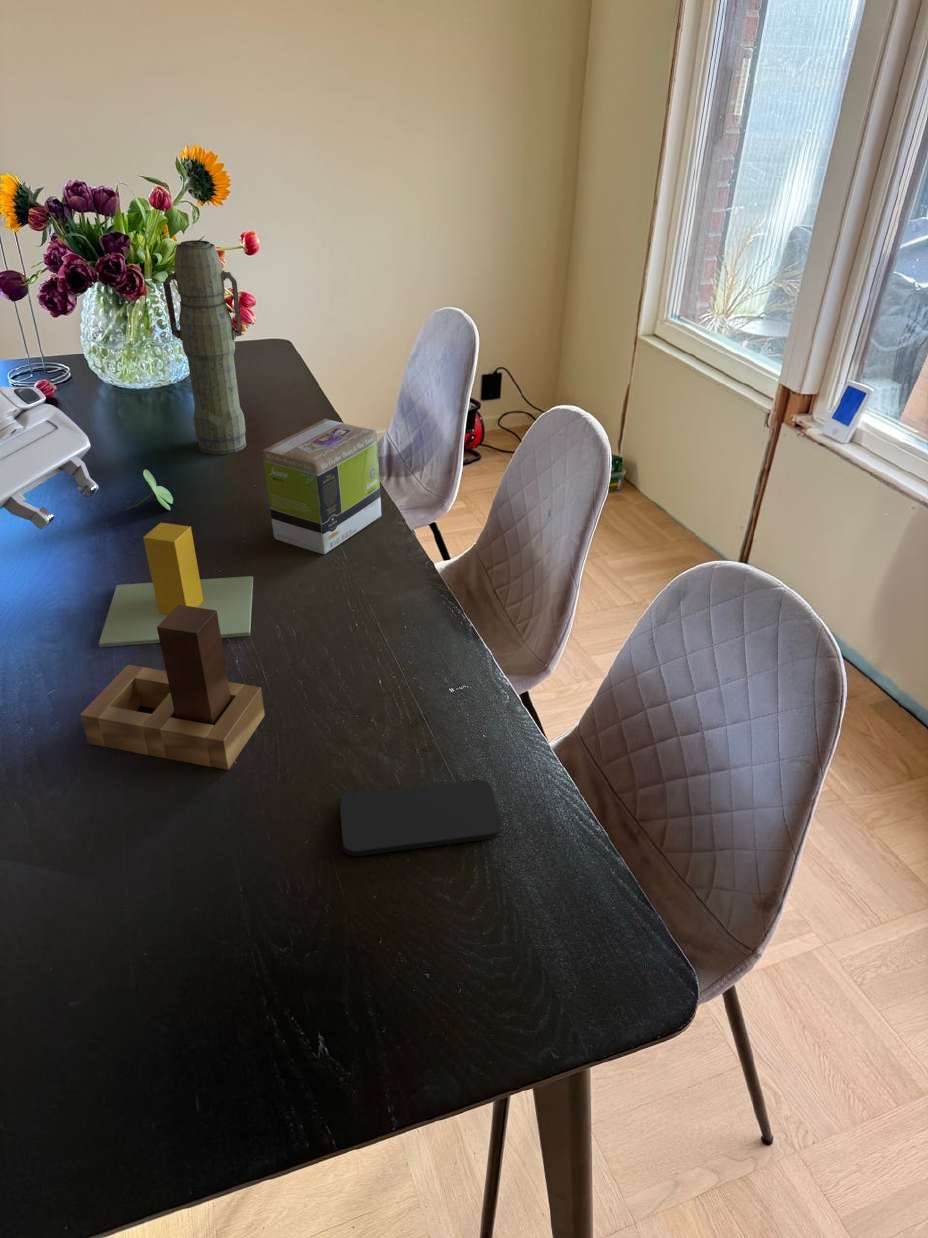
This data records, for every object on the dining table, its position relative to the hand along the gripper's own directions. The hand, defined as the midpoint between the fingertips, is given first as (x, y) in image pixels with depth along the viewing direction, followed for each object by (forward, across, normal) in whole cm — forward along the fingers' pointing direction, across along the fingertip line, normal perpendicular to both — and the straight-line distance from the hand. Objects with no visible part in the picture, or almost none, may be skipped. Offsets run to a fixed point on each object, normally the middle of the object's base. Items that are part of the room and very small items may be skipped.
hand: (71, 507), depth 106 cm
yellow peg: (+18, 0, 0) cm, 18 cm away
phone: (+47, -28, -27) cm, 61 cm away
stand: (+26, -21, -7) cm, 35 cm away
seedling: (+4, +28, +14) cm, 31 cm away
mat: (+18, 0, 0) cm, 18 cm away
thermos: (+4, +54, +14) cm, 56 cm away
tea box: (+25, +27, -7) cm, 38 cm away
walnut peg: (+29, -21, -10) cm, 37 cm away
